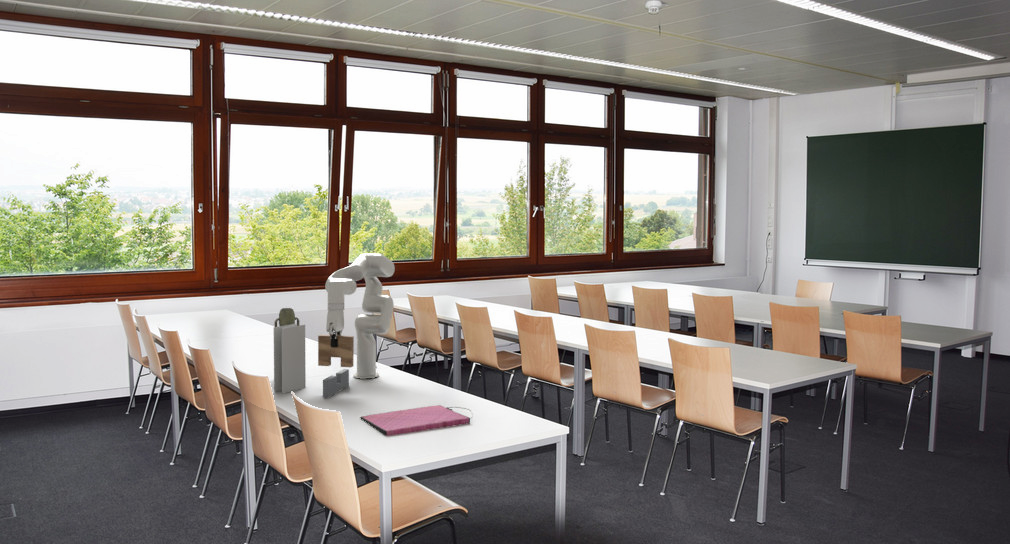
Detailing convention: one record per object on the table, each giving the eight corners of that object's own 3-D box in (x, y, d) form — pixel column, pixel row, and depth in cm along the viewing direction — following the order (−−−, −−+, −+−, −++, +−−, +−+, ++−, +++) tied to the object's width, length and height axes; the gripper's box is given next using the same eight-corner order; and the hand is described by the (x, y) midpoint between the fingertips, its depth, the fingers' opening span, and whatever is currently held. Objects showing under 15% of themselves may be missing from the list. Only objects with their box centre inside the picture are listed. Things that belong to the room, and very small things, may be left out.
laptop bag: (385, 427, 280) (360, 411, 303) (386, 437, 281) (360, 421, 304) (479, 412, 301) (448, 399, 324) (479, 422, 301) (448, 408, 324)
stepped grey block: (343, 385, 360) (343, 369, 359) (348, 385, 359) (348, 369, 359) (322, 397, 336) (322, 379, 336) (328, 397, 336) (328, 380, 335)
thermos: (272, 378, 373) (271, 308, 370) (295, 375, 380) (295, 306, 377) (278, 381, 366) (277, 310, 363) (302, 378, 373) (301, 308, 370)
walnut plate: (320, 364, 349) (321, 334, 348) (353, 366, 347) (353, 336, 346) (318, 365, 346) (318, 335, 346) (350, 367, 344) (351, 337, 343)
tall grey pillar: (297, 386, 357) (296, 323, 355) (305, 387, 355) (305, 324, 352) (274, 391, 345) (273, 327, 343) (282, 393, 342) (282, 328, 340)
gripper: (335, 304, 353) (335, 343, 355) (320, 308, 337) (320, 349, 339) (350, 305, 352) (350, 344, 353) (336, 309, 336) (336, 349, 337)
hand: (335, 346), depth 346 cm, fingers closed on walnut plate, 3 cm apart
